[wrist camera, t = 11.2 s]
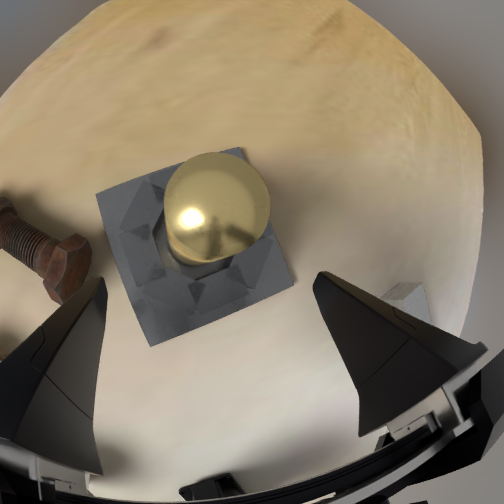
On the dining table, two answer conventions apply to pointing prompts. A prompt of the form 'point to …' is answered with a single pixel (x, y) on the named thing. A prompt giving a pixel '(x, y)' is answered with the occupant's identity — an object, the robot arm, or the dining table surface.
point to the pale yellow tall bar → (214, 208)
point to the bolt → (45, 254)
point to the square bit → (409, 300)
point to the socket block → (173, 272)
